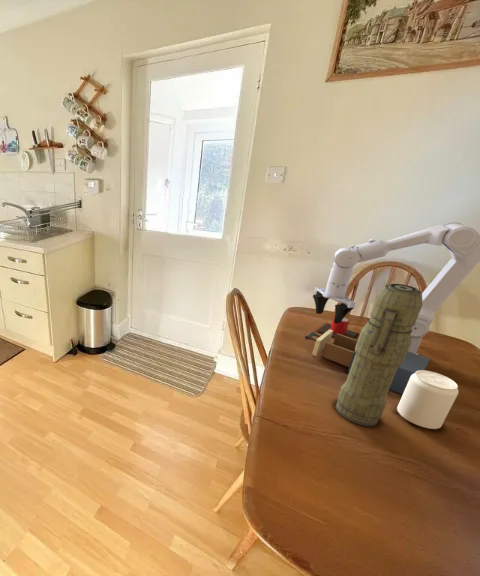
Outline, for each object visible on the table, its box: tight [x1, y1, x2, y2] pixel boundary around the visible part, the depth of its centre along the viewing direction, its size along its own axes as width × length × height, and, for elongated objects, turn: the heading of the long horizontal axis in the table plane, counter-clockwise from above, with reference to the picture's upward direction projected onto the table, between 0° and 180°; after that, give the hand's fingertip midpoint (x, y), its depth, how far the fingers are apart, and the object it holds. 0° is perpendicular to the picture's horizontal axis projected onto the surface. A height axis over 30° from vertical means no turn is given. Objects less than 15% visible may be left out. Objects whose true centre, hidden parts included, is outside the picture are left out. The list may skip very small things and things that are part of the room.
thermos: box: [335, 283, 423, 427], centre depth 74 cm, size 9×12×35 cm
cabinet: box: [347, 351, 431, 395], centre depth 93 cm, size 15×13×8 cm
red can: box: [330, 316, 350, 335], centre depth 118 cm, size 5×5×6 cm
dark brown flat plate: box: [317, 323, 359, 339], centre depth 119 cm, size 10×10×1 cm
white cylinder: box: [396, 370, 459, 430], centre depth 77 cm, size 8×8×12 cm
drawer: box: [304, 329, 358, 368], centre depth 103 cm, size 18×11×6 cm, turn 37°
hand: (327, 317), depth 113 cm, fingers open, 7 cm apart
